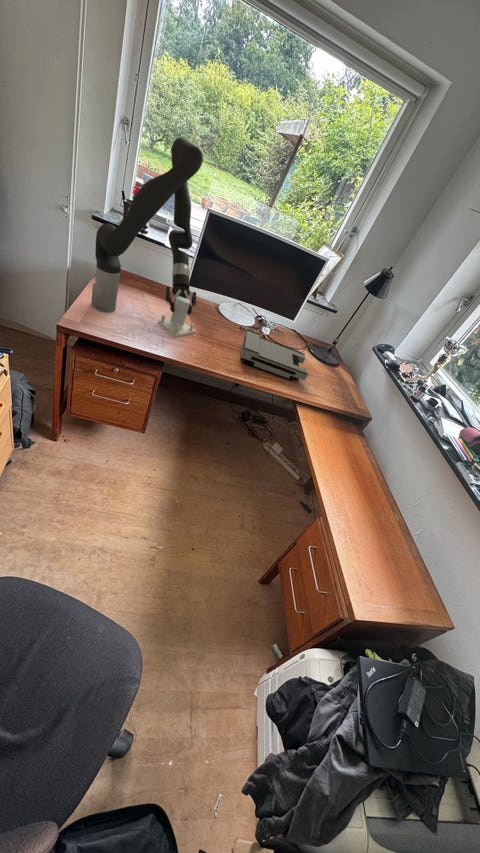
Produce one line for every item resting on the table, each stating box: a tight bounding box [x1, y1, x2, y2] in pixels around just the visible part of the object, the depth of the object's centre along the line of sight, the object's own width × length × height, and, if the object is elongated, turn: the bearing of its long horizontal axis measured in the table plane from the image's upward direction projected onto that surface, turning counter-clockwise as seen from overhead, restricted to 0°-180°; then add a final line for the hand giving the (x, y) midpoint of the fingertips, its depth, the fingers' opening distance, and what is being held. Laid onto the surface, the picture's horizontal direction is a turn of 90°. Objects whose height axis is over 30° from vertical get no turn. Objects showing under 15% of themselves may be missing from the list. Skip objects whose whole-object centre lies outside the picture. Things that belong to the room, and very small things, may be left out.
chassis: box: [157, 314, 196, 338], centre depth 159 cm, size 12×12×4 cm
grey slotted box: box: [240, 328, 309, 383], centre depth 166 cm, size 21×32×8 cm, turn 86°
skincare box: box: [170, 296, 191, 327], centre depth 155 cm, size 6×4×12 cm
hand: (181, 313), depth 154 cm, fingers open, 7 cm apart
